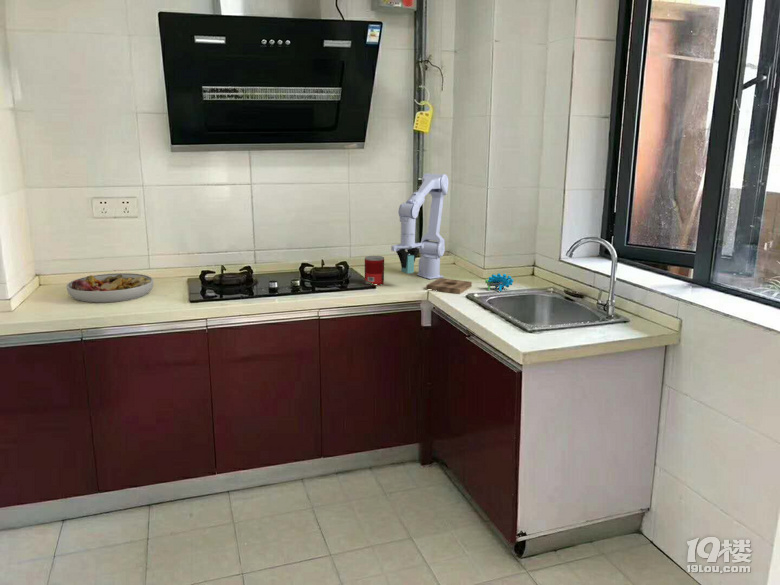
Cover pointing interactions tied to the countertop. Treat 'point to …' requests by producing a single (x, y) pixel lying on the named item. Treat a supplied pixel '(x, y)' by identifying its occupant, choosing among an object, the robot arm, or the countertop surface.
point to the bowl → (110, 287)
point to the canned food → (374, 269)
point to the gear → (499, 281)
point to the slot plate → (449, 285)
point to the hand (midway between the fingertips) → (407, 267)
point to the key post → (409, 264)
